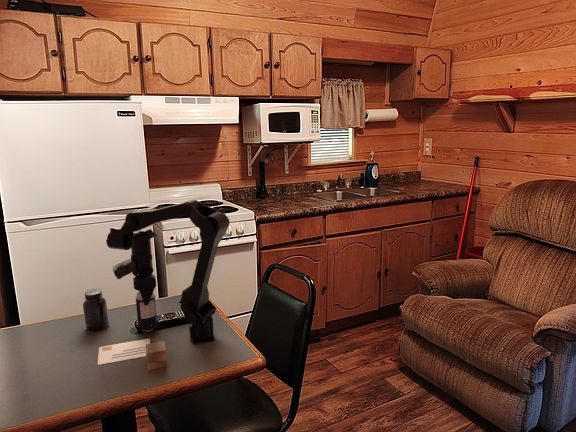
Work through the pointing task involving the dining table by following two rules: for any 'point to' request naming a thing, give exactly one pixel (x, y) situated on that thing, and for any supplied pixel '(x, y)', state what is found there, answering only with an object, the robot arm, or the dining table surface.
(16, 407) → the dining table surface
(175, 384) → the dining table surface
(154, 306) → the beverage can
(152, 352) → the walnut block
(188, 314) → the robot arm
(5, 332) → the dining table surface
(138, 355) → the letter
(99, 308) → the supplement bottle
